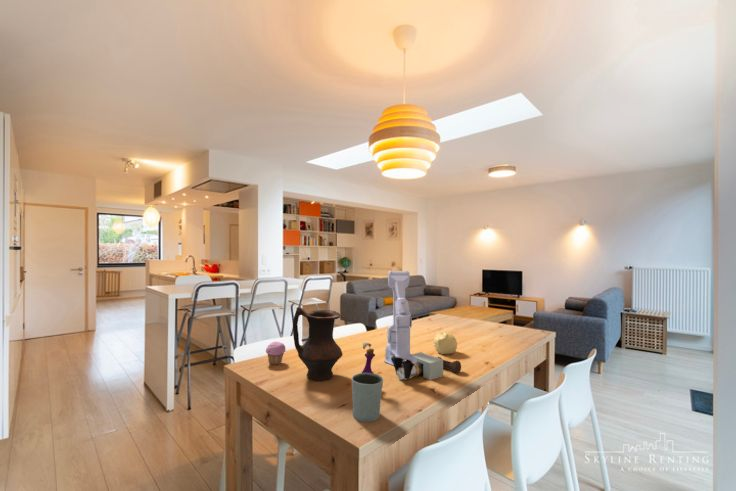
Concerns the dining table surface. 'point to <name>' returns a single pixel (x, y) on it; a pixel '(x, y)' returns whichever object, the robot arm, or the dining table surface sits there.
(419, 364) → the silver copper cylinder
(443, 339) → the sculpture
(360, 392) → the grey-green cup
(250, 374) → the dining table surface
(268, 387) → the dining table surface
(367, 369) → the perfume bottle
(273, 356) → the cupcake
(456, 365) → the bolt
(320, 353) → the jug
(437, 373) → the block
